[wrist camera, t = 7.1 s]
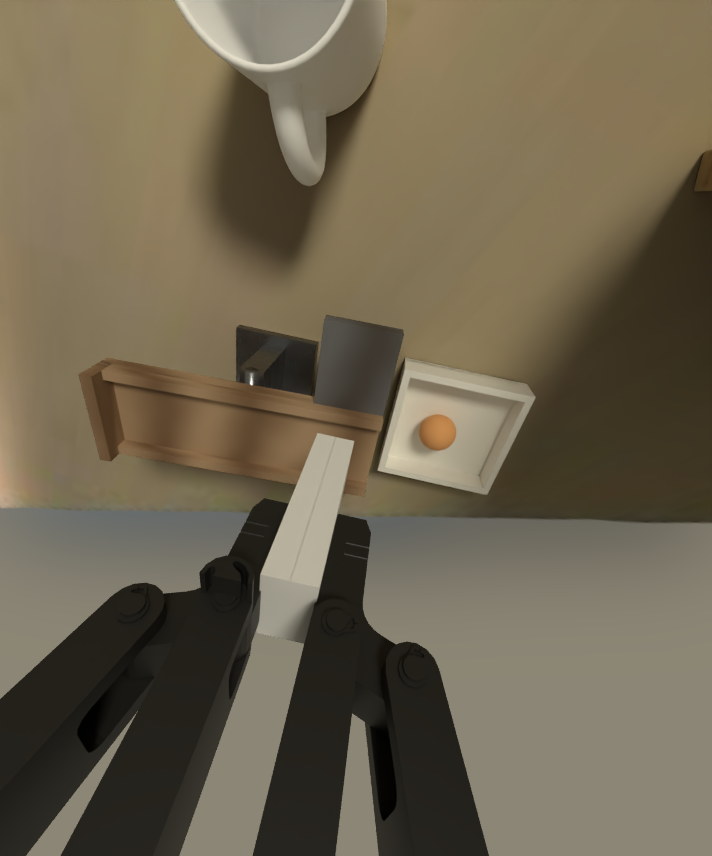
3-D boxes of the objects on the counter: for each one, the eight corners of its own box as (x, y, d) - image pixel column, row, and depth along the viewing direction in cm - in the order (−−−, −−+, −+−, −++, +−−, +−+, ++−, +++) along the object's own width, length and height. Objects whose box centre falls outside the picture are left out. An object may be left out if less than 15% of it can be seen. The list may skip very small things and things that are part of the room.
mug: (383, 188, 25) (368, 180, 17) (267, 189, 26) (196, 182, 18) (391, -86, 19) (375, -330, 10) (240, -73, 20) (107, -286, 11)
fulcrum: (239, 421, 37) (207, 461, 31) (240, 324, 32) (201, 352, 26) (306, 436, 37) (287, 479, 31) (318, 341, 32) (297, 373, 26)
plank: (123, 437, 30) (100, 459, 27) (88, 268, 23) (53, 276, 20) (365, 481, 31) (363, 505, 28) (403, 329, 24) (405, 344, 21)
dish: (379, 454, 37) (377, 470, 35) (405, 357, 31) (404, 369, 29) (482, 477, 37) (486, 495, 35) (527, 383, 31) (535, 397, 29)
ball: (433, 461, 31) (456, 452, 33) (444, 430, 30) (468, 422, 31) (407, 441, 33) (431, 433, 35) (417, 411, 31) (441, 404, 33)
